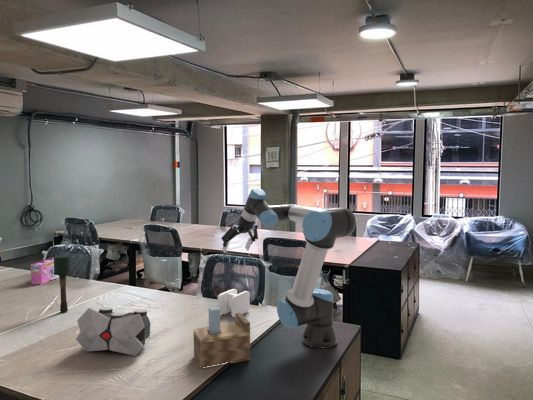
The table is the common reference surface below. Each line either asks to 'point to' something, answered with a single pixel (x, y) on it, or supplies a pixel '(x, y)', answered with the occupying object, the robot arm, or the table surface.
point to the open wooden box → (222, 351)
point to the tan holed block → (225, 330)
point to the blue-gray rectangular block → (214, 320)
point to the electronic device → (113, 330)
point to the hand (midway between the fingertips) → (235, 249)
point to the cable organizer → (234, 302)
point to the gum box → (43, 271)
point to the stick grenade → (62, 277)
